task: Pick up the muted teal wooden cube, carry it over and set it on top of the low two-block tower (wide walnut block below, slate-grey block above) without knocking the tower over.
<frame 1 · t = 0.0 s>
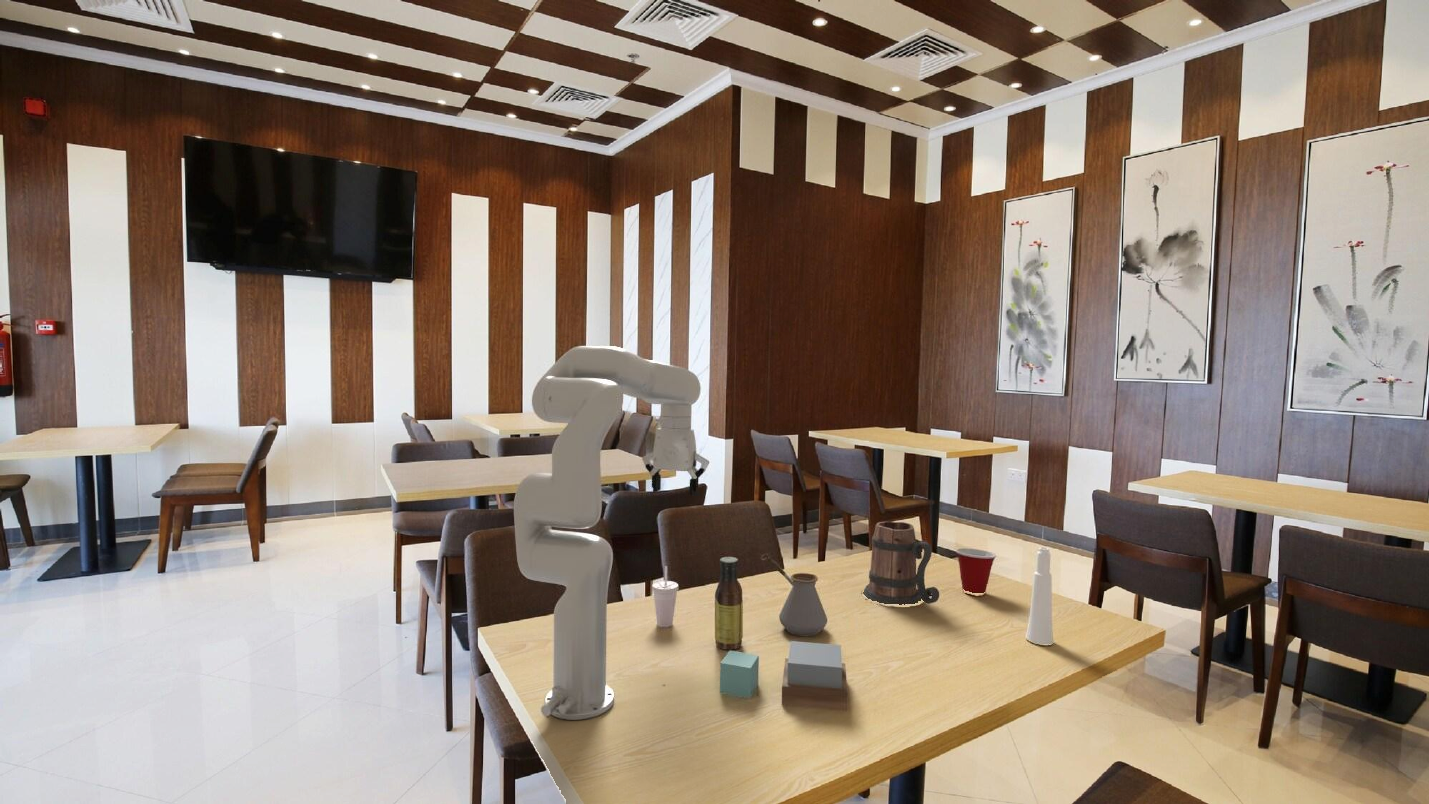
hand: (674, 492, 164), 31 cm above the table, tool pointing down, fingers open, 9 cm apart
top block: (814, 673, 129), point 3 cm above the table, touching bottom block
bottom block: (814, 694, 129), on the table, touching top block
smoothie: (664, 625, 161), on the table
coffee pot: (789, 623, 163), on the table
tankard: (901, 601, 181), on the table
sauce bottle: (728, 646, 149), on the table
teal cube: (739, 688, 130), on the table
plastic cup: (973, 593, 188), on the table
cosmetic bottle: (1039, 642, 155), on the table
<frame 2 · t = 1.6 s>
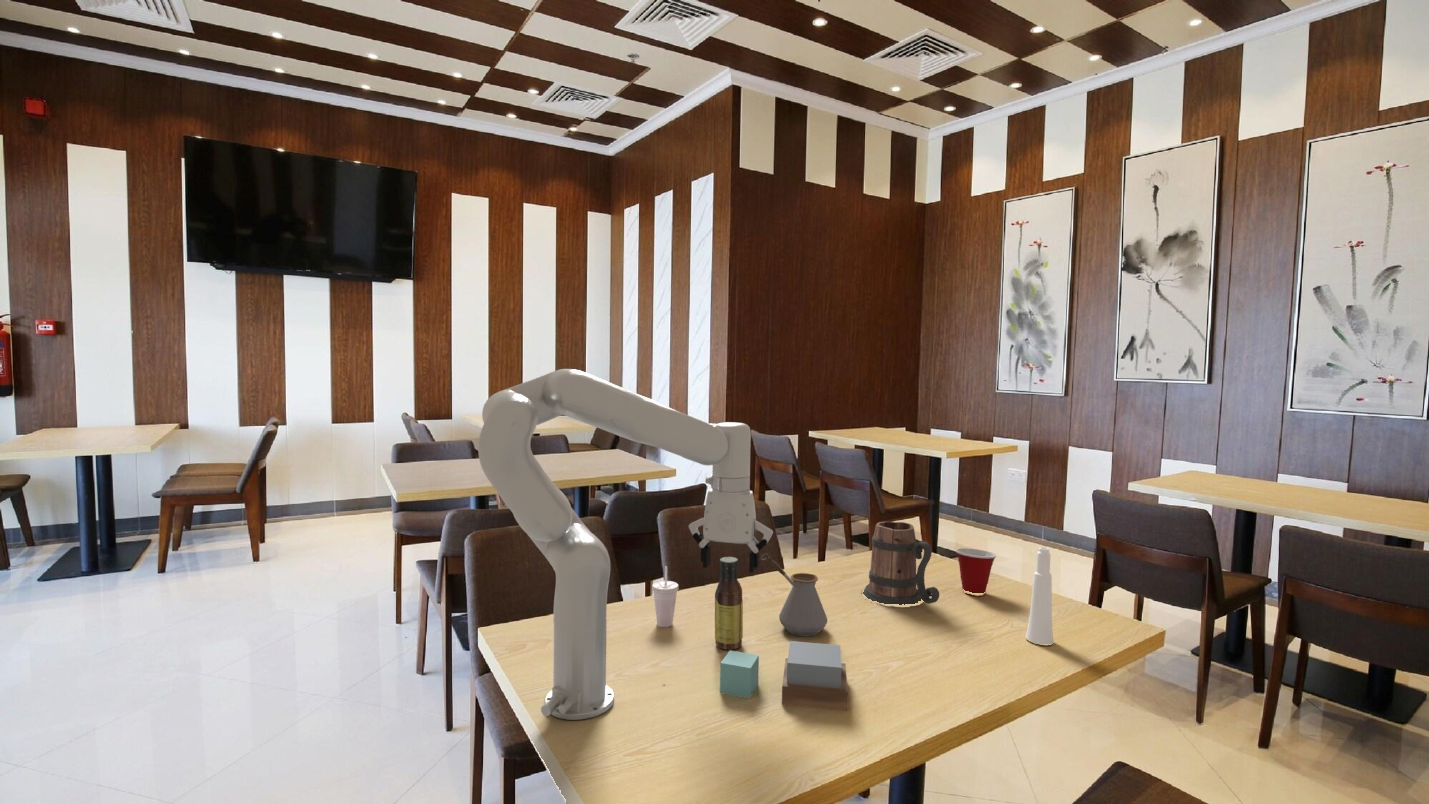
hand: (729, 568, 134), 22 cm above the table, tool pointing down, fingers open, 9 cm apart
nothing on the table moved.
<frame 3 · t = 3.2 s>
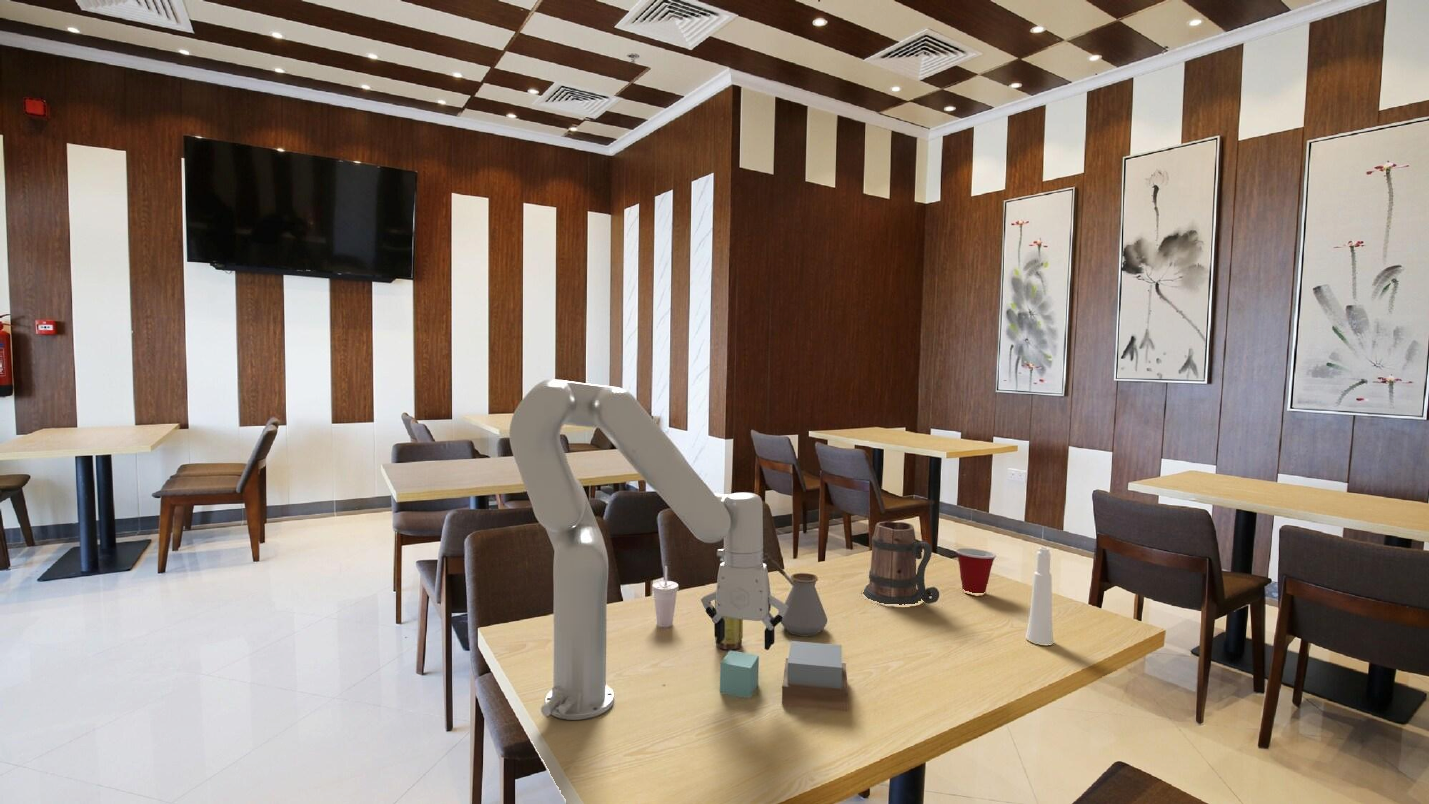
hand: (744, 644, 130), 9 cm above the table, tool pointing down, fingers open, 9 cm apart
nothing on the table moved.
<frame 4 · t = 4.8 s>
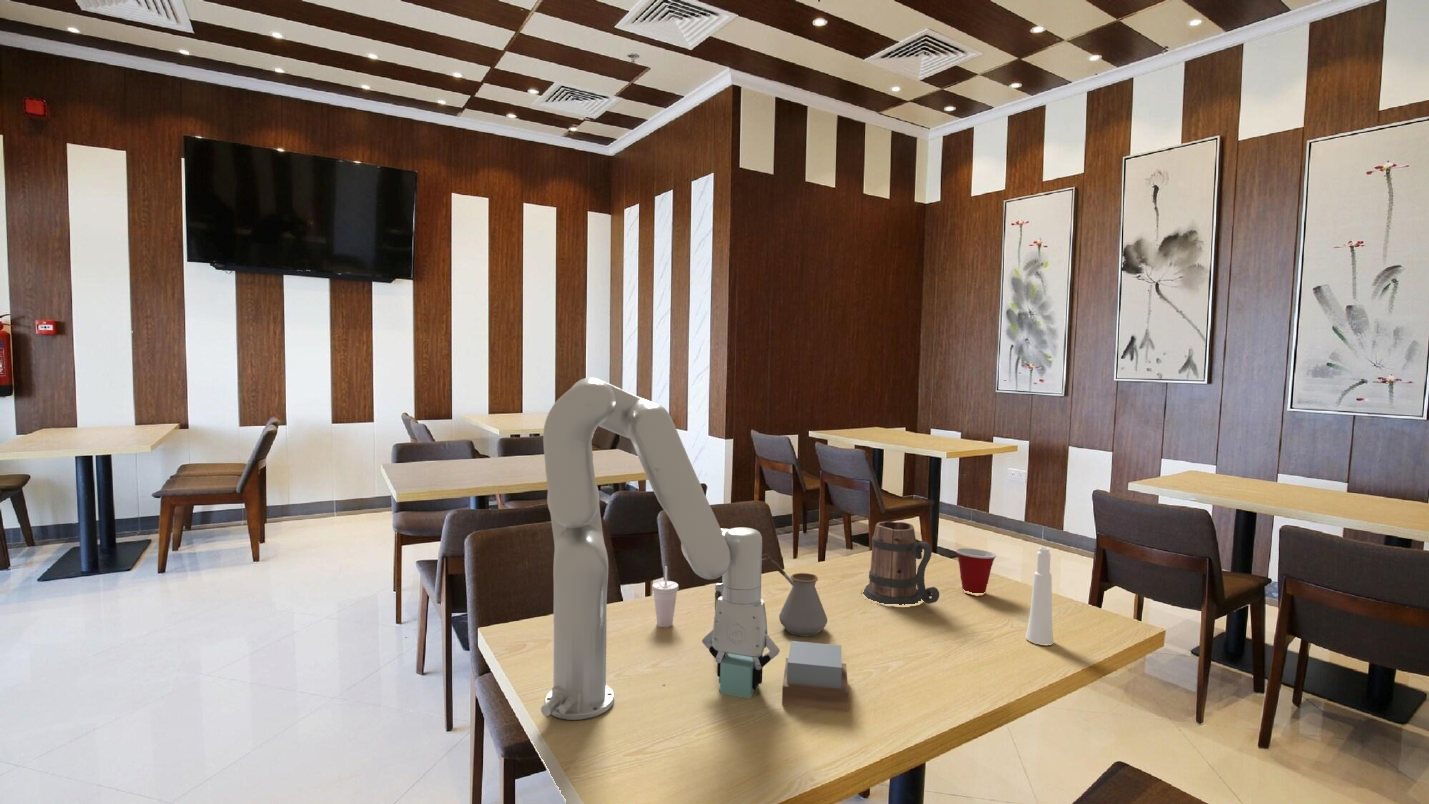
hand: (739, 682, 130), 1 cm above the table, tool pointing down, fingers closed on teal cube, 6 cm apart
teal cube: (739, 688, 130), on the table, touching gripper
everything else where it was.
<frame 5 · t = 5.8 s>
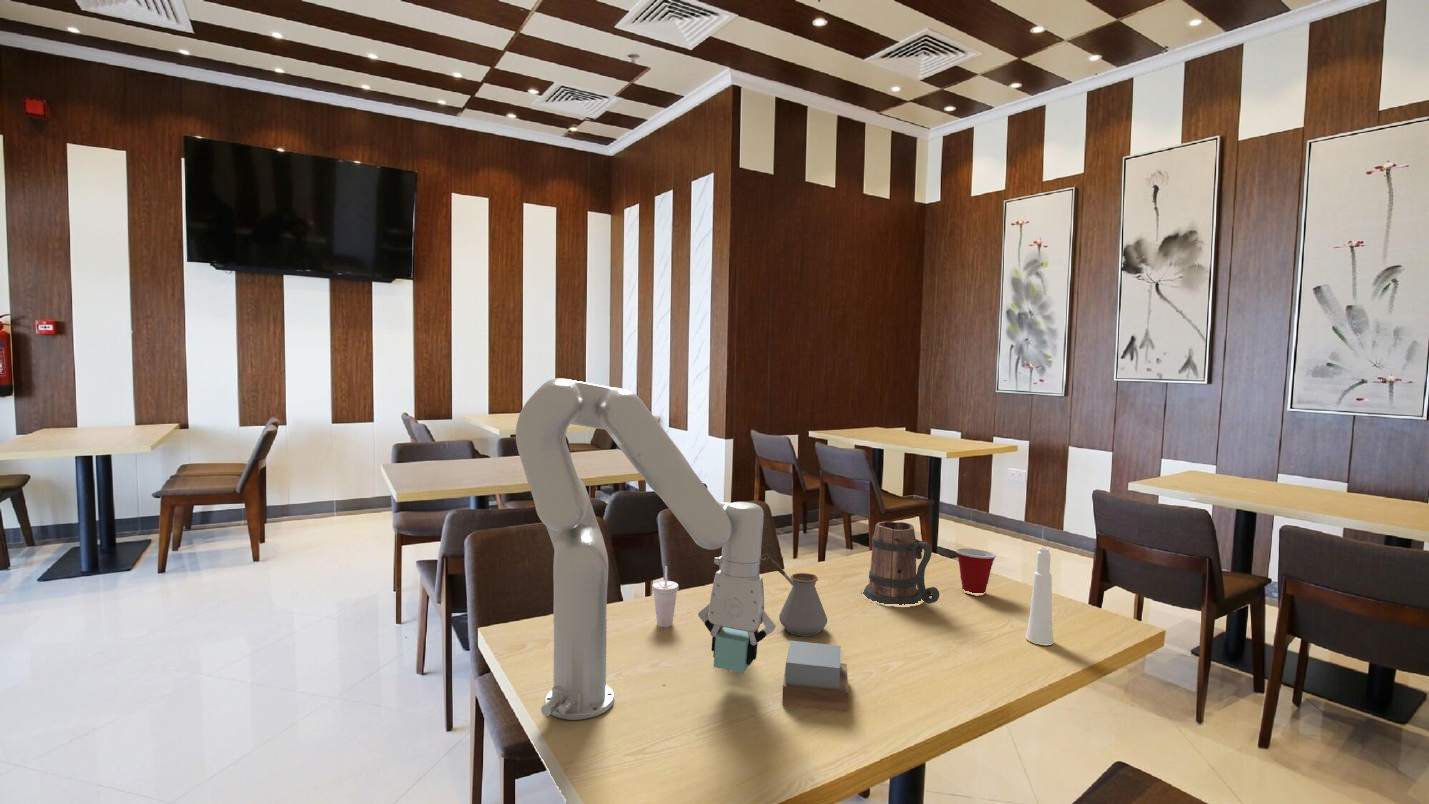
hand: (733, 657, 129), 6 cm above the table, tool pointing down, fingers closed on teal cube, 6 cm apart
top block: (813, 673, 129), point 4 cm above the table
bottom block: (815, 694, 129), on the table
teal cube: (733, 663, 129), point 5 cm above the table, touching gripper
everything else where it was.
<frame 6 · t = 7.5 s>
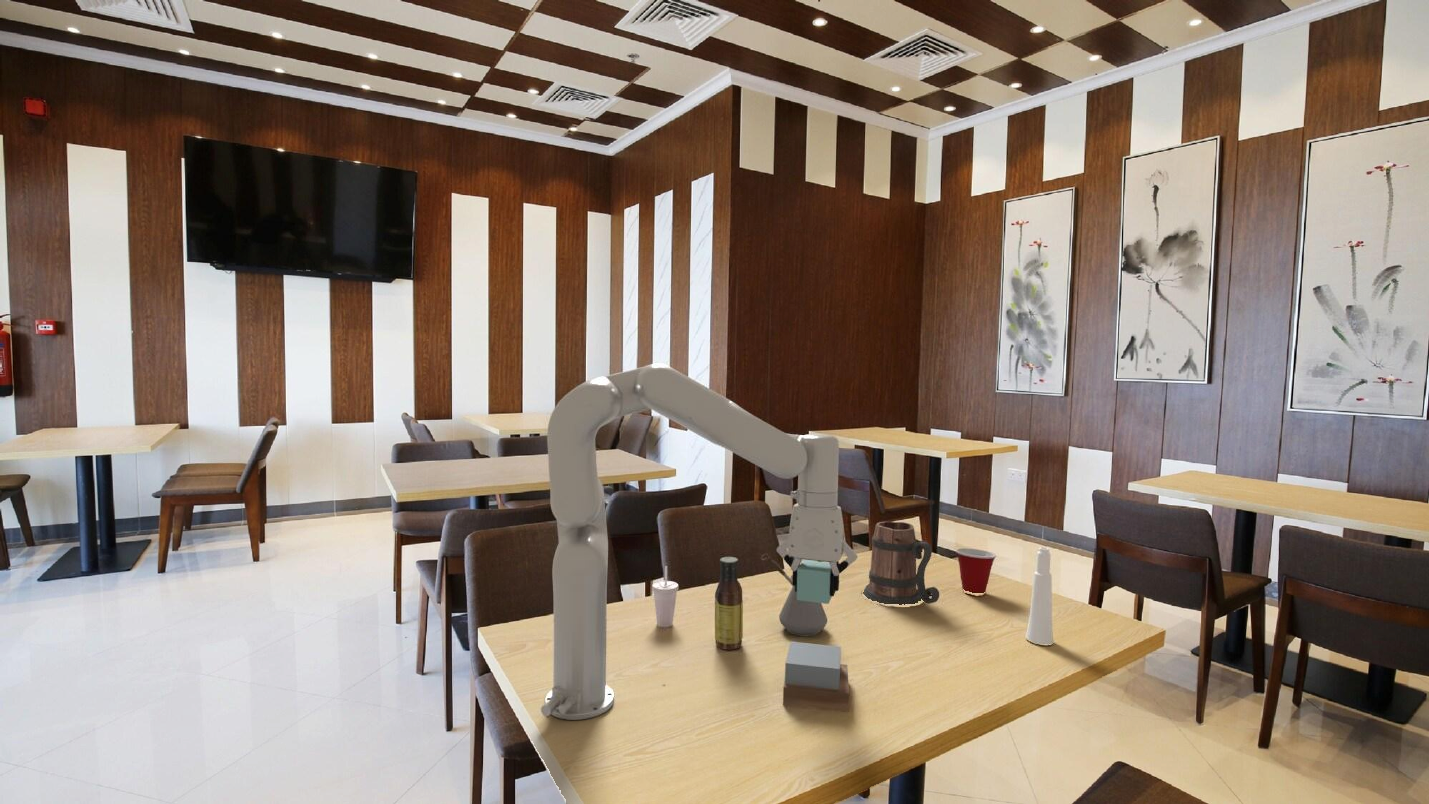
hand: (815, 591, 128), 20 cm above the table, tool pointing down, fingers closed on teal cube, 6 cm apart
teal cube: (815, 596, 128), point 19 cm above the table, touching gripper
everything else where it was.
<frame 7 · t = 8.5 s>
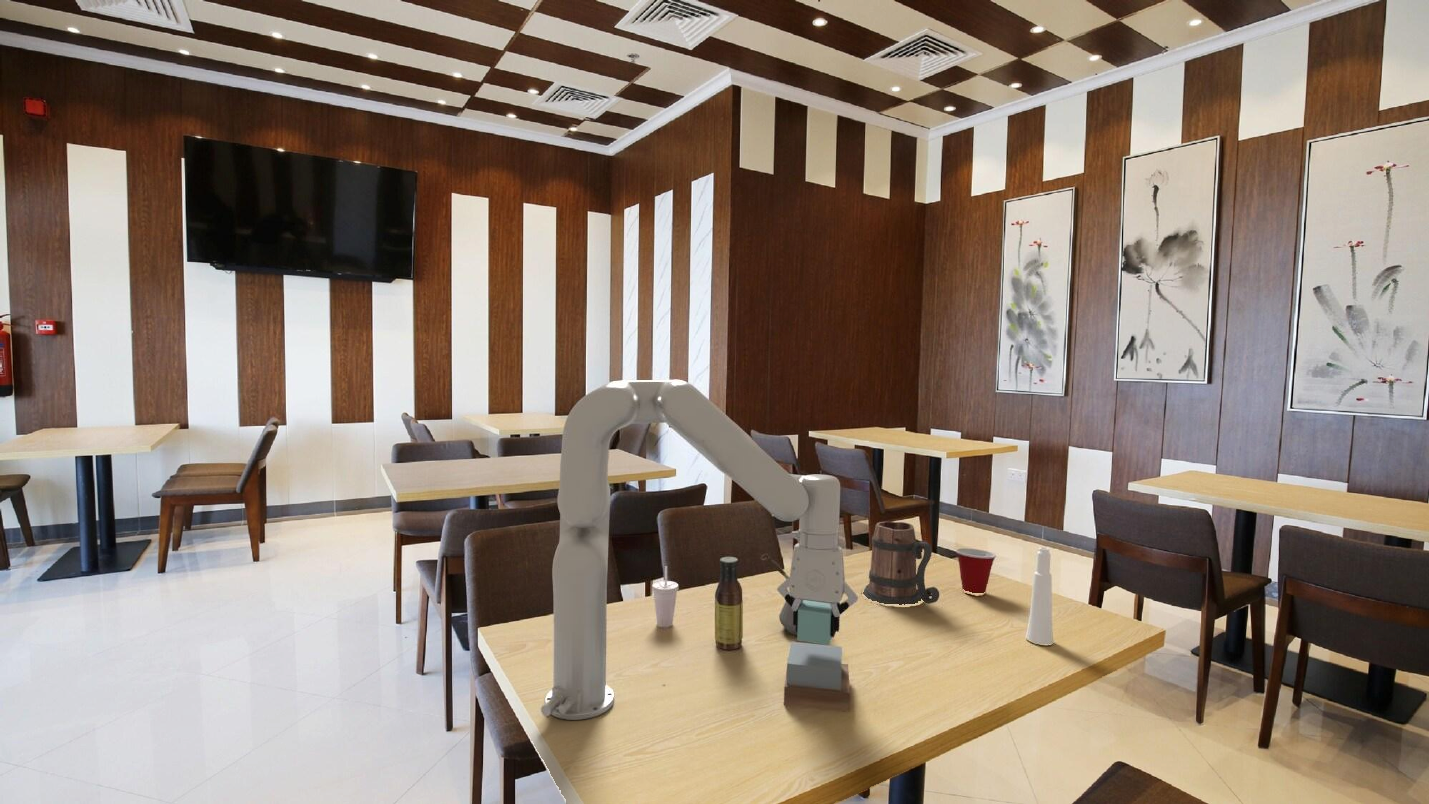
hand: (815, 630, 128), 12 cm above the table, tool pointing down, fingers closed on teal cube, 6 cm apart
top block: (814, 675, 129), point 3 cm above the table, touching bottom block
bottom block: (816, 695, 129), on the table, touching top block
teal cube: (815, 636, 129), point 11 cm above the table, touching gripper
everything else where it was.
when the fingers open (10 cm above the table, at t = 9.7 s): teal cube drops 1 cm, resting on top block.
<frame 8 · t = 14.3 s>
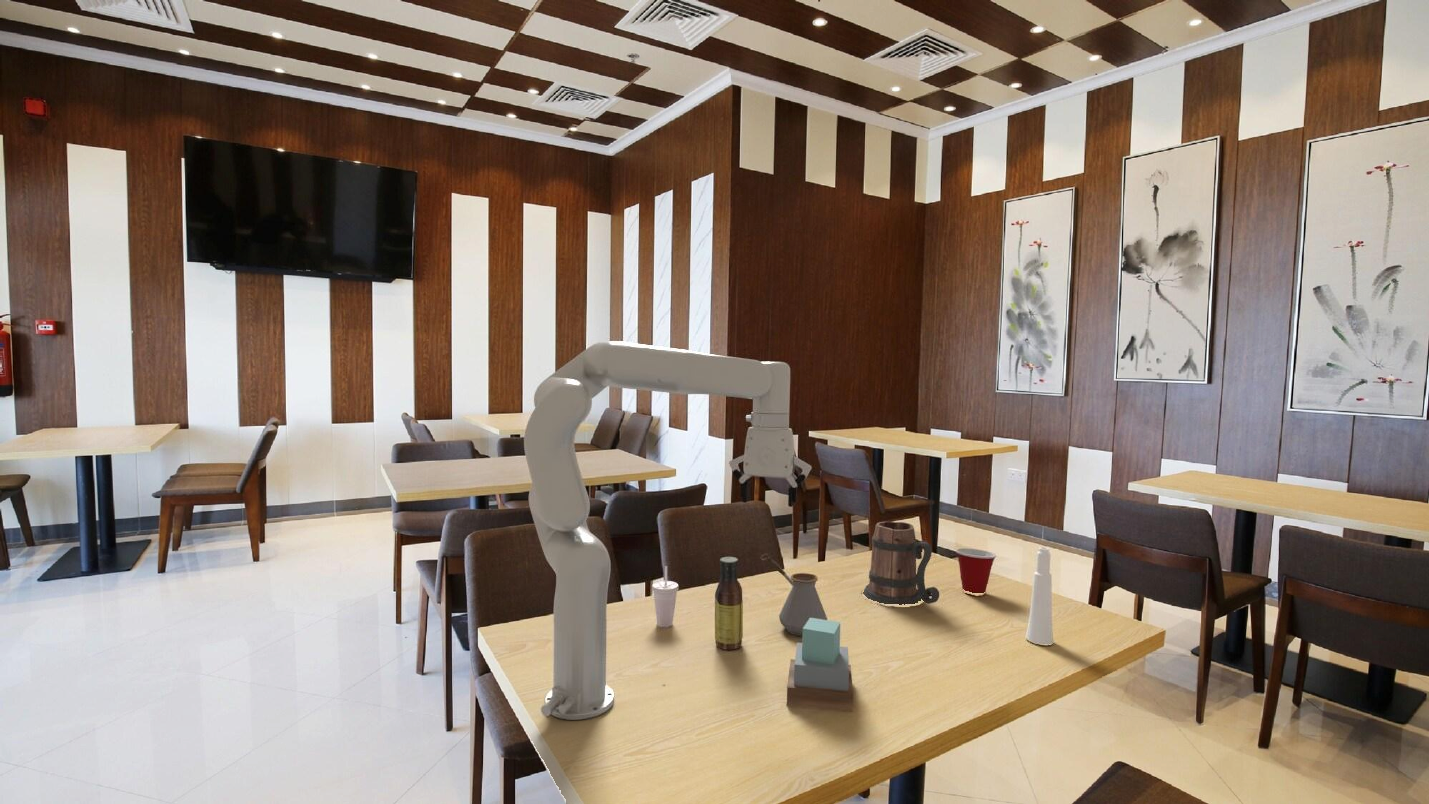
hand: (768, 503, 139), 34 cm above the table, tool pointing down, fingers open, 9 cm apart
top block: (821, 675, 128), point 3 cm above the table, touching bottom block, teal cube
teal cube: (820, 655, 128), point 7 cm above the table, touching top block
everything else where it was.
at the end: teal cube inside the target area on the top block (0.2 cm from its centre), point 4.0 cm above the top block's base; teal cube tilted 0°; top block moved 1.4 cm from its start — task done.
